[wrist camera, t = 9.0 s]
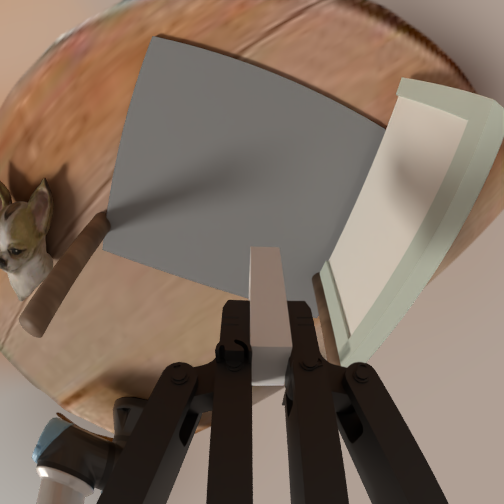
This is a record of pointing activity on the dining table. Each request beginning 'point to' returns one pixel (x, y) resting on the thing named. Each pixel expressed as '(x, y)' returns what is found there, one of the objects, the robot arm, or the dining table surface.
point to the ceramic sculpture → (25, 238)
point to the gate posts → (77, 257)
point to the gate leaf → (408, 210)
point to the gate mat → (233, 171)
